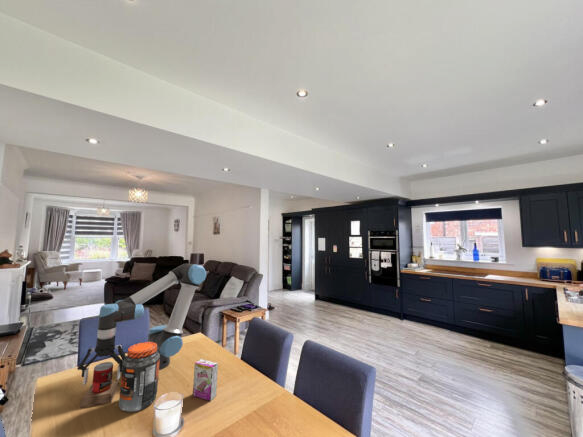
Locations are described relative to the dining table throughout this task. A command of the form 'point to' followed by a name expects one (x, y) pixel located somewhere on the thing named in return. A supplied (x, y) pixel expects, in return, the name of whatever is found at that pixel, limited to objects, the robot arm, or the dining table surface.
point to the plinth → (99, 396)
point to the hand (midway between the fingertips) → (102, 381)
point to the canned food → (102, 377)
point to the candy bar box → (205, 379)
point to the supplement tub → (139, 377)
